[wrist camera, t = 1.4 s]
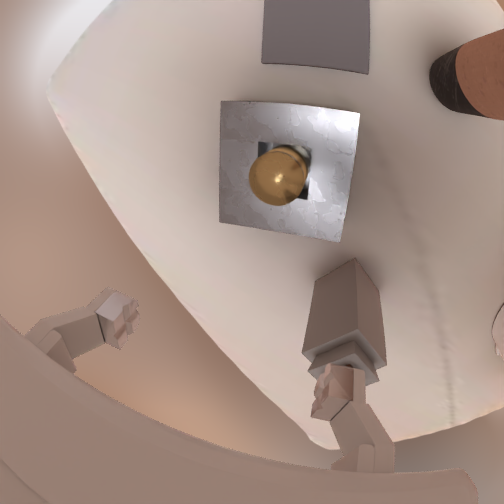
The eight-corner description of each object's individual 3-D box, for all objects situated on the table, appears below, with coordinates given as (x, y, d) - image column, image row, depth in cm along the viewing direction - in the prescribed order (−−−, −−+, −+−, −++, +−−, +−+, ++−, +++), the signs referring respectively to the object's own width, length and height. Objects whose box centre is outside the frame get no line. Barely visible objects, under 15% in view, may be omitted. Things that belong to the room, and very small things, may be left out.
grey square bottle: (315, 281, 39) (293, 387, 24) (354, 257, 35) (357, 365, 20) (340, 312, 40) (330, 416, 25) (378, 291, 37) (388, 399, 21)
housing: (355, 113, 27) (359, 113, 23) (339, 225, 34) (339, 242, 30) (236, 101, 30) (220, 100, 26) (233, 207, 37) (219, 222, 33)
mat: (368, -10, 18) (368, -12, 17) (367, 74, 24) (368, 73, 23) (267, -17, 21) (265, -20, 20) (263, 63, 27) (261, 62, 26)
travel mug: (447, 123, 23) (557, 154, 7) (415, 65, 21) (504, 24, 5) (488, 103, 20) (601, 122, 3) (459, 47, 18) (558, 13, 1)
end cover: (312, 145, 29) (306, 156, 22) (308, 186, 32) (300, 209, 25) (269, 140, 30) (249, 149, 24) (267, 181, 33) (247, 201, 26)
